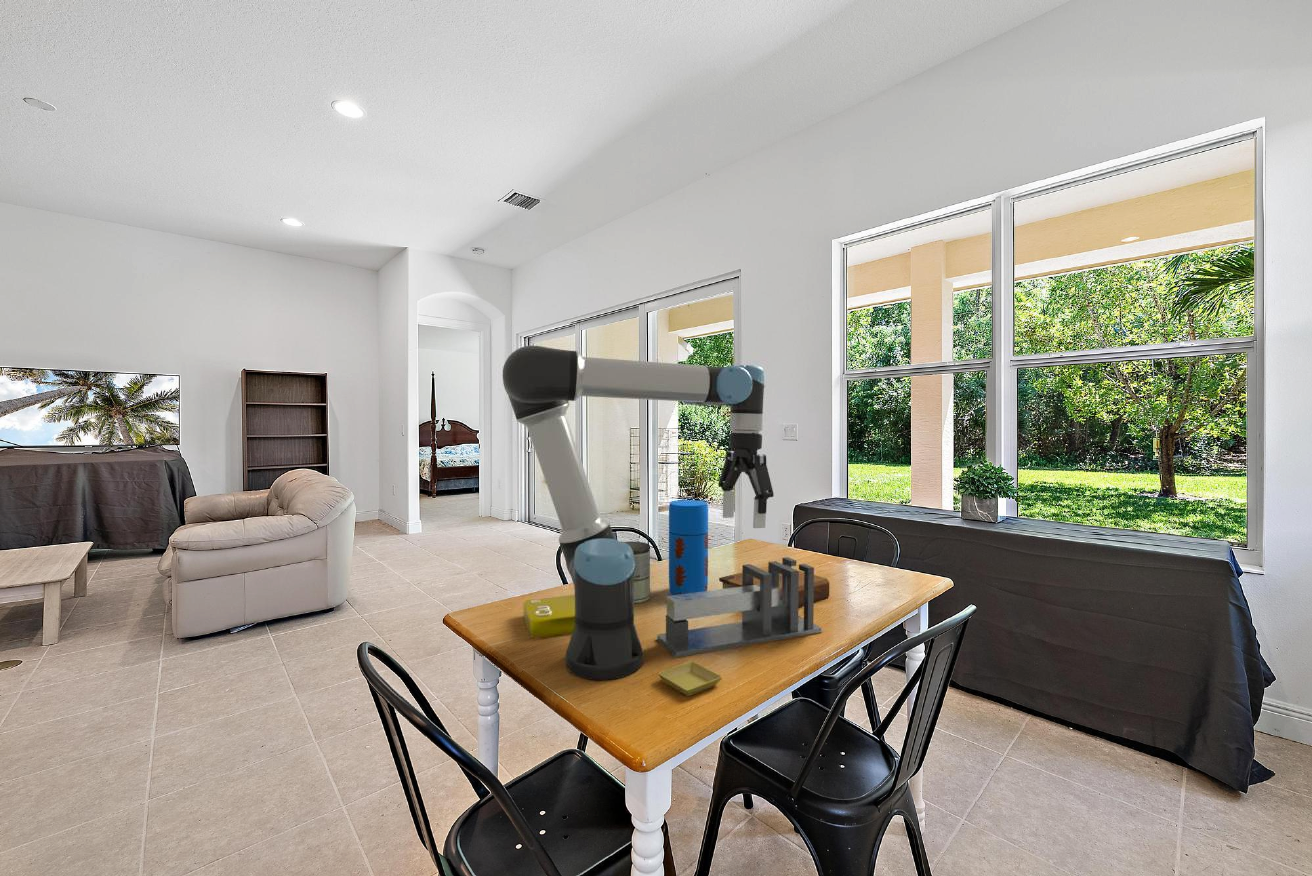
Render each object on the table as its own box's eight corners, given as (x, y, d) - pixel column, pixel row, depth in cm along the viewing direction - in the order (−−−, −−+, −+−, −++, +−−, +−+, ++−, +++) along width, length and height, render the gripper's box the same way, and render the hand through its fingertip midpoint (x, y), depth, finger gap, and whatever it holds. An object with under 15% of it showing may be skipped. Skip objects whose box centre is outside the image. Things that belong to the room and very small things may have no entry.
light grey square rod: (674, 621, 115) (674, 601, 115) (666, 615, 119) (666, 595, 119) (780, 606, 124) (780, 587, 124) (770, 600, 128) (770, 582, 128)
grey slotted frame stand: (675, 657, 112) (675, 584, 111) (657, 639, 121) (657, 571, 121) (821, 632, 125) (822, 566, 125) (794, 617, 134) (795, 556, 134)
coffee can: (604, 598, 149) (604, 546, 148) (628, 589, 157) (628, 539, 156) (634, 606, 143) (634, 552, 142) (657, 595, 151) (657, 544, 150)
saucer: (656, 683, 102) (656, 672, 102) (692, 670, 107) (692, 659, 107) (686, 702, 95) (686, 690, 95) (723, 687, 100) (723, 676, 100)
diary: (772, 618, 136) (772, 595, 135) (719, 598, 150) (719, 577, 150) (829, 599, 149) (829, 578, 149) (775, 582, 164) (775, 563, 164)
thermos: (661, 595, 152) (662, 504, 151) (678, 584, 161) (679, 499, 160) (698, 601, 146) (698, 507, 146) (713, 590, 156) (714, 501, 155)
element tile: (597, 631, 127) (597, 610, 127) (531, 640, 122) (531, 619, 121) (582, 610, 141) (582, 591, 141) (522, 617, 136) (522, 598, 135)
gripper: (792, 434, 120) (788, 531, 120) (732, 431, 143) (729, 513, 143) (762, 433, 117) (759, 533, 117) (706, 430, 140) (703, 514, 140)
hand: (742, 522), depth 130 cm, fingers open, 13 cm apart
